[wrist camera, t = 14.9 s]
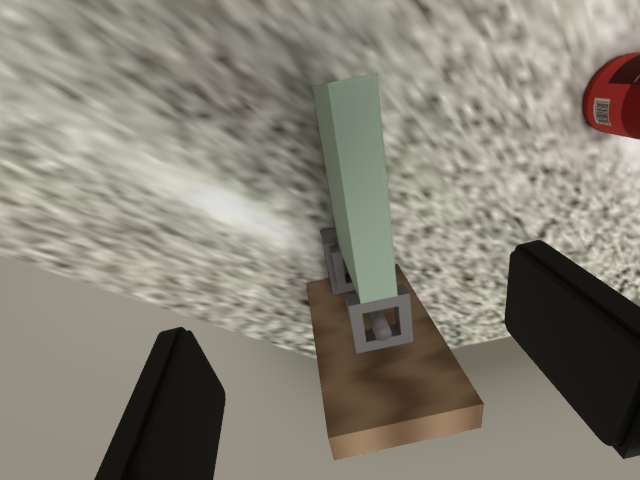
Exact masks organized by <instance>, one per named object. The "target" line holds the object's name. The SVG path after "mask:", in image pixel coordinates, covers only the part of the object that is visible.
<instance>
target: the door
mask: <svg viewBox="0 0 640 480" xmlns="http://www.w3.org/2000/svg"><path fill="white" fill-rule="evenodd" d="M312 90H313V96H314V102H315V108H316V114H317V120H318V126H319V132H320V138H321V144H322V150H323V155H324V161H325V167H326V173H327V179H328V185H329V191H330V197H331V203H332V209H333V215H334V221H335V226H336V232H337V238H338V244H339V246H336V247H331V248H330V251H331V257H332V262H333V268H334V273H335V279H336V284H337V288H338V292H339V293H341V292H346V291H351V290H356V294H351V295H346V296H345V299H346V304H347V310H348V316H349V322H350V328H351V333H352V339H353V344H354V347H355V351H356V354H358V353H363V352H367V351H372V350H377V349H381V348H386V347H390V346H395V345H400V344H404V343H409V342H413V329H412V315H411V302H410V293H409V291H408V290H407V288H406V287H405V285H404V283H403V284H399V285H397V284H396V273H395V262H394V251H393V241H392V230H391V219H390V208H389V197H388V186H387V176H386V165H385V154H384V143H383V132H382V121H381V111H380V100H379V89H378V78H377V73H376V74H371V75H366V76H361V77H355V78H350V79H345V80H340V81H335V82H330V83H325V84H322V85H318V86H315V87H312ZM342 260H344V261H345V264H346V266H347V269H348V271H349V274H350V276H345V273H344V267H343V261H342ZM392 307H394V312H395V322H396V324H392V325H389V327H390V330H391V332H392V335H391V337H390V338H389V339H387V340H385V341H379V340H377V339H376V338H375V335H374V332H373V329H369V330H365V329H364V322H363V316H362V314H364V313H368V312H373V311H378V310H383V309H387V308H392Z"/></svg>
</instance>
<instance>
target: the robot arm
mask: <svg viewBox="0 0 640 480" xmlns="http://www.w3.org/2000/svg"><path fill="white" fill-rule="evenodd" d="M505 325H506V328H507V330H508V332H509V333H510V334H511V336H512V337H513V338H514V339H515V340H516V341H517V343H518V344H519V345H520V346H521V347H522V349H523V350H524V351H525V352H526V353H527V354H528V356H529V357H530V358H531V359H532V360H533V361H534V363H535V364H536V365H537V366H538V367H539V369H540V370H541V371H542V372H543V373H544V374H545V376H546V377H547V378H548V379H549V380H550V381H551V383H552V384H553V385H554V386H555V387H556V389H557V390H558V391H559V392H560V393H561V394H562V396H563V397H564V398H565V399H566V400H567V402H568V403H569V404H570V405H571V406H572V407H573V409H574V410H575V411H576V412H577V413H578V414H579V416H580V417H581V418H582V419H583V420H584V421H585V423H586V424H587V425H588V426H589V427H590V429H591V430H592V431H593V432H594V433H595V435H596V436H597V437H598V438H599V439H600V440H601V441H602V442H603V443H604V444H606V445H608V446H613V448H614V449H615V450H616V451H617V452H618V453H619V455H620V456H621V457H622V458H623V459H625V458H630V457H634V456H639V455H640V307H639V306H637V305H636V304H634V303H633V302H632V301H630V300H629V299H627V298H626V297H624V296H623V295H621V294H620V293H618V292H617V291H615V290H614V289H612V288H611V287H610V286H608V285H607V284H605V283H604V282H602V281H601V280H599V279H598V278H596V277H595V276H593V275H592V274H590V273H589V272H588V271H586V270H585V269H583V268H582V267H580V266H579V265H577V264H576V263H574V262H573V261H571V260H570V259H568V258H567V257H566V256H564V255H563V254H561V253H560V252H558V251H557V250H555V249H554V248H552V247H551V246H549V245H548V244H546V243H545V242H543V241H541V240H536V241H532V242H528V243H524V244H520V245H518V246H516V248H515V251H513V252H512V253H511V254H510V263H509V274H508V286H507V298H506V309H505ZM224 406H225V391H224V389H223V386H222V385H221V383H220V381H219V379H218V377H217V376H216V374H215V372H214V370H213V369H212V367H211V365H210V363H209V361H208V360H207V358H206V356H205V354H204V353H203V351H202V349H201V347H200V346H199V344H198V342H197V340H196V338H195V337H194V335H193V333H192V332H191V331H190V330H188V331H186V330H185V329H184V328H183V327H178V328H174V329H170V330H166V331H162V332H160V333H159V335H158V336H157V339H156V341H155V343H154V346H153V348H152V350H151V353H150V355H149V357H148V359H147V361H146V364H145V366H144V368H143V370H142V373H141V375H140V377H139V380H138V382H137V384H136V386H135V389H134V391H133V393H132V395H131V398H130V400H129V402H128V405H127V407H126V409H125V411H124V414H123V416H122V418H121V421H120V423H119V425H118V427H117V430H116V432H115V434H114V436H113V438H112V441H111V443H110V446H109V448H108V450H107V452H106V454H105V457H104V459H103V461H102V463H101V466H100V468H99V471H98V472H97V475H96V477H95V479H94V480H213V477H214V470H215V464H216V458H217V451H218V444H219V439H220V432H221V426H222V420H223V413H224Z"/></svg>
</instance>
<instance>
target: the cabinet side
mask: <svg viewBox="0 0 640 480" xmlns="http://www.w3.org/2000/svg"><path fill="white" fill-rule="evenodd" d="M321 237H322V242H323V247H324V253H325V258H326V263H327V269H328V274H329V279H325V280H320V281H316V282H311V283H306V284H307V291H308V298H309V305H310V312H311V319H312V326H313V333H314V341H315V348H316V355H317V361H318V369H319V376H320V383H321V390H322V397H323V404H324V411H325V418H326V426H327V433H328V439H329V443H330V447H331V450H332V454H333V458H334V460H337V459H342V458H346V457H351V456H355V455H359V454H364V453H368V452H373V451H378V450H382V449H386V448H391V447H395V446H400V445H404V444H409V443H413V442H418V441H422V440H427V439H431V438H436V437H440V436H444V435H449V434H454V433H458V432H462V431H467V430H472V429H476V428H480V427H481V424H482V415H483V405H484V403H483V402H482V400H481V399H480V397H479V395H478V394H477V392H476V390H475V389H474V387H473V386H472V384H471V382H470V381H469V379H468V377H467V376H466V374H465V373H464V371H463V369H462V368H461V366H460V365H459V363H458V361H457V360H456V358H455V356H454V355H453V353H452V352H451V350H450V348H449V347H448V345H447V343H446V342H445V340H444V339H443V337H442V335H441V334H440V332H439V331H438V329H437V327H436V326H435V324H434V322H433V321H432V319H431V318H430V316H429V314H428V313H427V311H426V309H425V308H424V306H423V305H422V303H421V301H420V300H419V298H418V297H417V295H416V293H415V292H414V290H413V288H412V287H411V285H410V284H409V282H408V280H407V279H406V277H405V275H404V274H403V272H402V271H401V269H400V267H399V266H398V264H397V265H395V273H396V284H397V285H399V284H403V283H404V285H405V287H406V288H407V290H408V291H409V293H410V302H411V315H412V329H413V342H409V343H404V344H400V345H395V346H390V347H386V348H381V349H377V350H372V351H367V352H363V353H358V354H356V351H355V347H354V344H353V339H352V333H351V328H350V322H349V316H348V310H347V304H346V299H345V296H346V295H351V294H356V290H351V291H346V292H341V293H339V292H338V288H337V284H336V279H335V273H334V268H333V262H332V257H331V251H330V248H331V247H336V246H339V244H338V238H337V232H336V228H331V229H327V230H322V231H321ZM342 261H343V267H344V273H345V276H350V274H349V271H348V269H347V266H346V264H345V261H344V260H342ZM362 316H363V322H364V329H365V330H369V329H373V332H374V335H375V338H376V339H377V340H379V341H385V340H387V339H389V338H390V337H391V335H392V332H391V330H390V327H389V325H392V324H396V322H395V312H394V307H392V308H387V309H383V310H378V311H373V312H368V313H364V314H362Z"/></svg>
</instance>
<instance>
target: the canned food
mask: <svg viewBox="0 0 640 480" xmlns="http://www.w3.org/2000/svg"><path fill="white" fill-rule="evenodd" d="M583 111H584V116H585V118H586V120H587V122H588V123H589V124H590V125H591V126H592V127H594V128H595V129H597V130H599V131H601V132H605V133H610V134H615V135H620V136H625V137H630V138H635V139H639V140H640V53H631V54H627V55H624V56H622V57H619V58H617V59H614V60H612V61H611V62H609V63H608V64H606V65H605V66H604V67H603V68H602V69H601V70H600V71H599V72H598V73H597V74H596V75H595V76H594V78H593V79H592V81H591V82H590V84H589V86H588V88H587V91H586V94H585V97H584V103H583Z"/></svg>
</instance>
